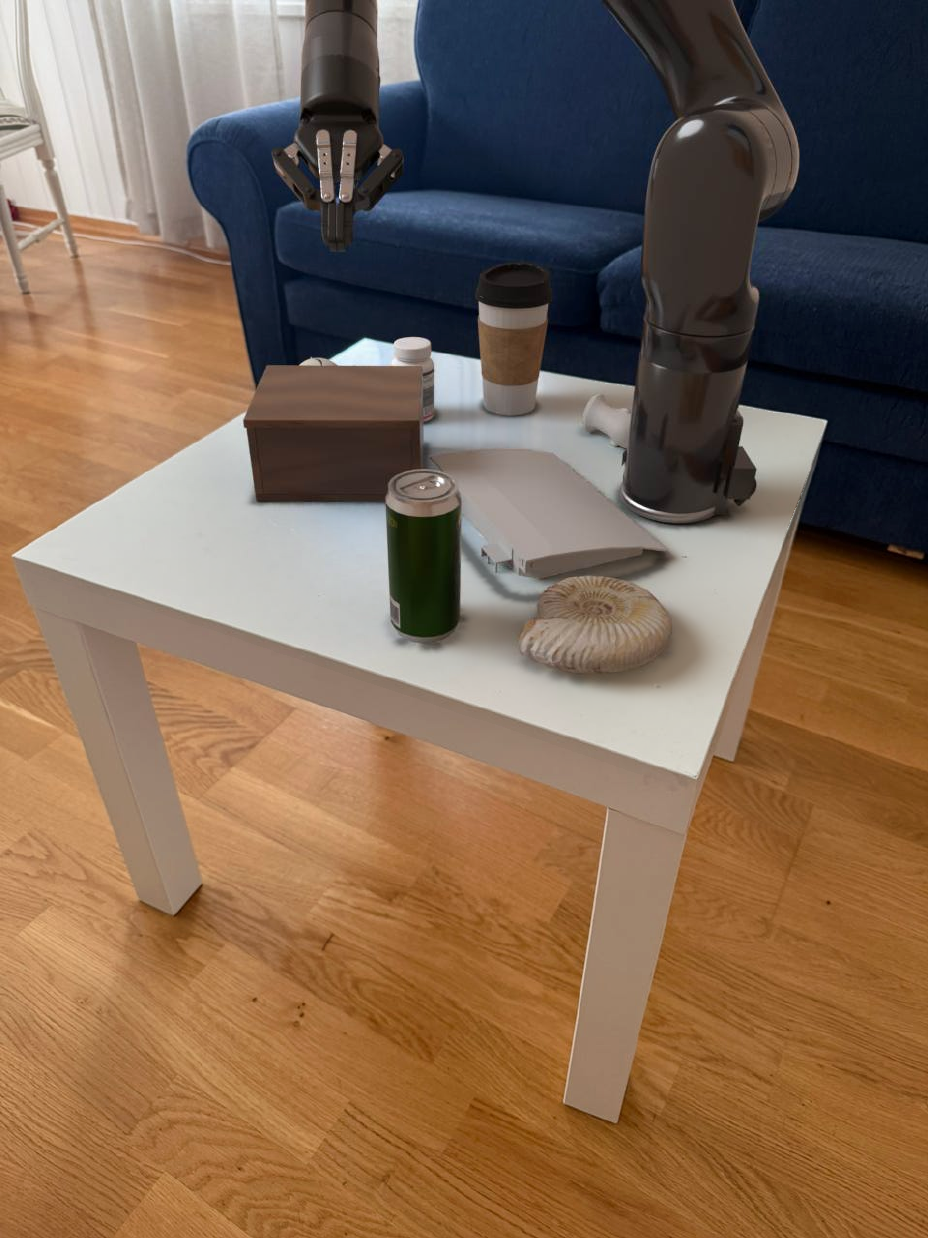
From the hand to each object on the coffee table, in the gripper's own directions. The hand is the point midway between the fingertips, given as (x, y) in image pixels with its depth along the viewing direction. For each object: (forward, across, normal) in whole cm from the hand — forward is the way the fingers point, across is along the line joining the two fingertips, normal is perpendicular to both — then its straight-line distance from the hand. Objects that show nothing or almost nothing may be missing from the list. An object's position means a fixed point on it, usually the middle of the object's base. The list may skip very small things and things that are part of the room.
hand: (337, 246), depth 85 cm
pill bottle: (+9, +6, +19) cm, 22 cm away
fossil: (+39, +22, -10) cm, 46 cm away
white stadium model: (+27, +18, +3) cm, 32 cm away
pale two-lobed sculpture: (+13, +28, +15) cm, 35 cm away
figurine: (+10, -4, +18) cm, 21 cm away
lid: (+14, 0, +3) cm, 14 cm away
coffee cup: (+7, +18, +21) cm, 28 cm away
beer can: (+37, +8, -9) cm, 39 cm away
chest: (+19, 0, +9) cm, 21 cm away
